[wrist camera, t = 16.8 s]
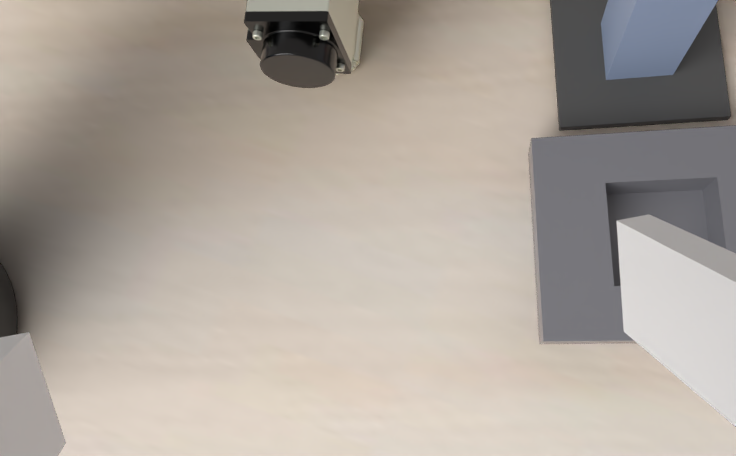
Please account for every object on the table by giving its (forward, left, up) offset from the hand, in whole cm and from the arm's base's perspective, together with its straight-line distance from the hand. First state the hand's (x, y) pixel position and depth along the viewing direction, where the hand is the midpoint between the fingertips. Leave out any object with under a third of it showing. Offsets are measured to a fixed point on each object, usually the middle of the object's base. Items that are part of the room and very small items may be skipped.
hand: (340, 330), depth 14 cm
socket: (+13, +7, -27) cm, 31 cm away
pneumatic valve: (-7, +22, -27) cm, 35 cm away
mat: (+13, +19, -27) cm, 36 cm away
